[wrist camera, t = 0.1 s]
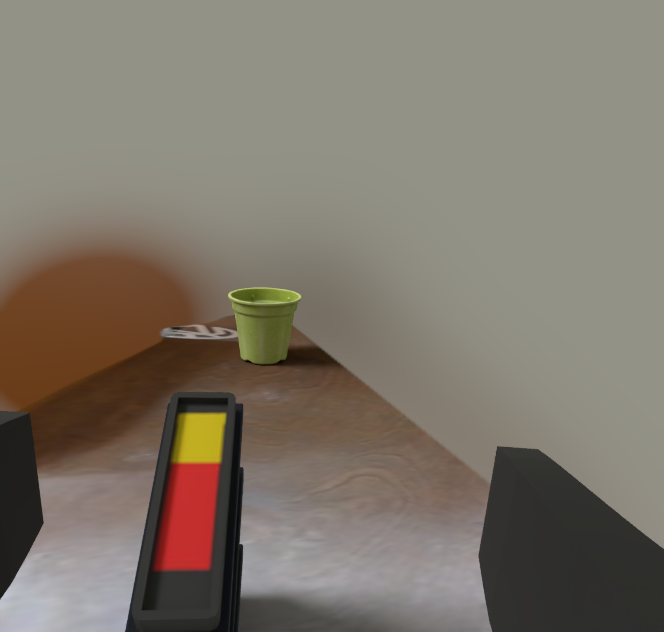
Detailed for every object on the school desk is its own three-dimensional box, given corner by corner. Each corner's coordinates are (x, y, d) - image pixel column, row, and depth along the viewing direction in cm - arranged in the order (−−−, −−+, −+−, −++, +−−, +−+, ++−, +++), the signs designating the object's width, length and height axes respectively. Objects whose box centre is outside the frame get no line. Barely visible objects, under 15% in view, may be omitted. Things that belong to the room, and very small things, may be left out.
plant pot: (226, 347, 83) (226, 286, 81) (293, 346, 85) (295, 286, 83) (230, 370, 74) (230, 303, 72) (304, 368, 76) (306, 303, 74)
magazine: (244, 540, 39) (242, 387, 30) (232, 790, 29) (223, 683, 20) (186, 541, 39) (166, 386, 29) (154, 794, 29) (106, 688, 19)
